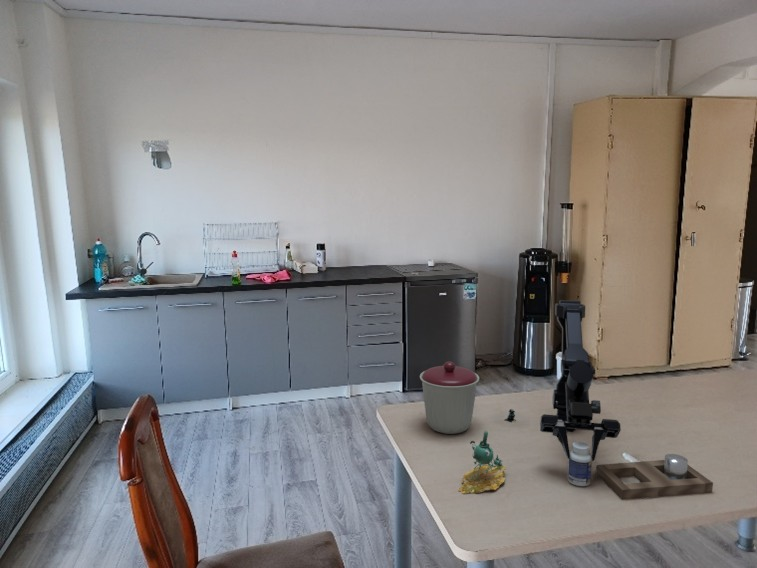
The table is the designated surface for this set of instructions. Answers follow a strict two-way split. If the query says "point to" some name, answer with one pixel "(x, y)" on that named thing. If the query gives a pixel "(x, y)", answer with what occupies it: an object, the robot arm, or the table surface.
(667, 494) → the brown holder board
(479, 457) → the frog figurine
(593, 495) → the table surface
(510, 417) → the sculpture
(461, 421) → the canister
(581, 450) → the pill bottle
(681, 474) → the steel peg
